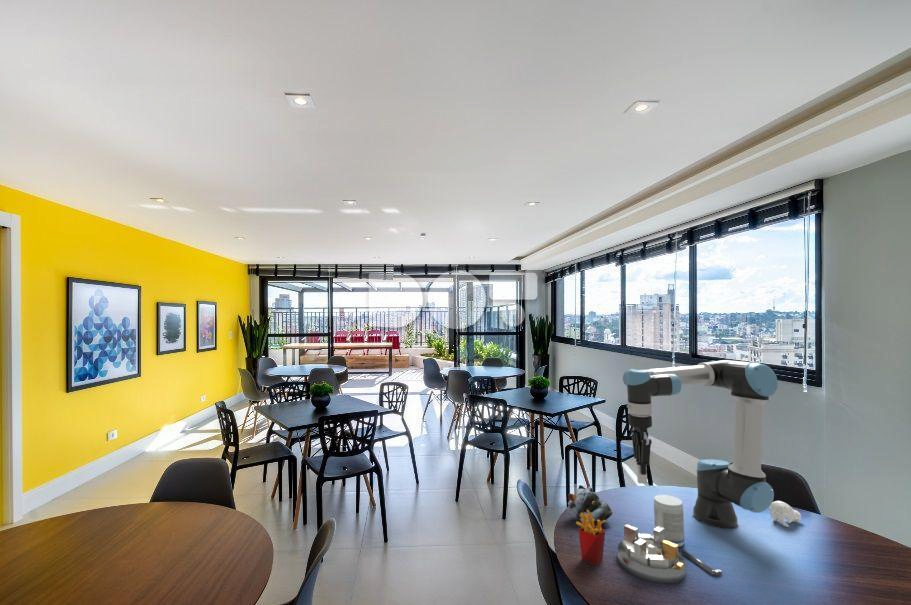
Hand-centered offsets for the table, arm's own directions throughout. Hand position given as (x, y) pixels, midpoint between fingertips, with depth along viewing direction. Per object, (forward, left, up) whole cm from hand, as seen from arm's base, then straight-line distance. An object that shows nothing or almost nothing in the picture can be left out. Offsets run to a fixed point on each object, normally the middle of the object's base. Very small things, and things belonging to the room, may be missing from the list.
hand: (642, 482), depth 141 cm
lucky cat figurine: (+7, -23, -24) cm, 34 cm away
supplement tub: (-14, -5, -24) cm, 28 cm away
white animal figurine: (-70, -8, -24) cm, 74 cm away
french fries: (+21, 0, -24) cm, 32 cm away
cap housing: (+2, +6, -24) cm, 25 cm away
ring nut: (+2, +6, -21) cm, 22 cm away
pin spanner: (-13, +9, -24) cm, 29 cm away
